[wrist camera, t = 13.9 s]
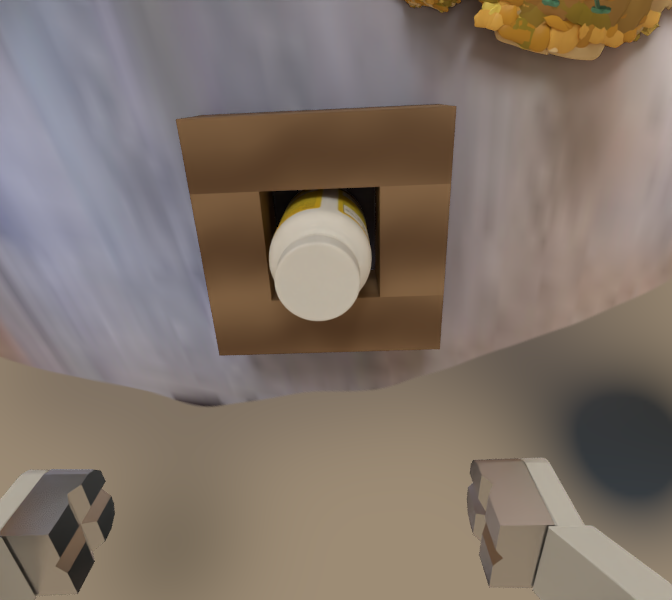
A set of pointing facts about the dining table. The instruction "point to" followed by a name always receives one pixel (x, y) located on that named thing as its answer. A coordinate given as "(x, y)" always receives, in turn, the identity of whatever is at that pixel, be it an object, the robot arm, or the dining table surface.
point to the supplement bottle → (320, 254)
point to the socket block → (322, 173)
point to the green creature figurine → (564, 23)
